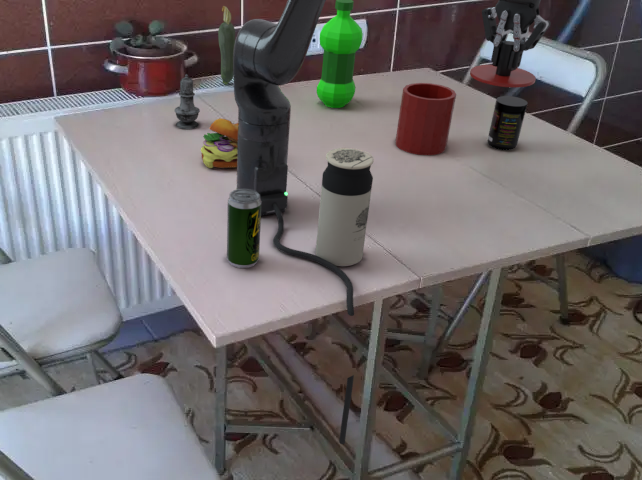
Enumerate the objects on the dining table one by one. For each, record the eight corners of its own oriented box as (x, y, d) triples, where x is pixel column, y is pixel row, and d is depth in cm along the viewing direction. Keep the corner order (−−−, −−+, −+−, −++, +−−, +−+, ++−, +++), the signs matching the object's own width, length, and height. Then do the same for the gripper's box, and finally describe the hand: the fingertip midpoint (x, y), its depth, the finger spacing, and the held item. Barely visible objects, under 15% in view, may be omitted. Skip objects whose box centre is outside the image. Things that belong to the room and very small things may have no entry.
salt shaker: (198, 130, 172) (198, 78, 165) (173, 129, 172) (171, 77, 165) (201, 120, 176) (200, 70, 170) (176, 119, 176) (174, 69, 170)
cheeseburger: (187, 160, 157) (195, 113, 153) (223, 159, 164) (231, 113, 161) (220, 175, 151) (229, 126, 147) (256, 173, 159) (265, 126, 155)
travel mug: (305, 253, 127) (314, 154, 117) (338, 239, 131) (349, 143, 121) (338, 273, 122) (350, 171, 112) (371, 258, 126) (386, 159, 116)
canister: (455, 147, 169) (466, 92, 162) (425, 159, 162) (435, 103, 155) (415, 132, 175) (424, 79, 168) (385, 143, 169) (393, 89, 162)
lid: (546, 82, 146) (555, 44, 142) (512, 95, 139) (522, 56, 135) (491, 66, 154) (498, 30, 149) (456, 78, 146) (463, 40, 142)
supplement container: (522, 150, 168) (533, 105, 162) (494, 152, 167) (505, 106, 161) (507, 139, 174) (518, 95, 168) (481, 140, 172) (490, 96, 167)
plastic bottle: (305, 103, 189) (313, -1, 175) (334, 95, 195) (344, -6, 181) (334, 114, 183) (345, 8, 169) (363, 105, 189) (375, 2, 175)
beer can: (223, 267, 122) (224, 201, 116) (230, 250, 127) (231, 186, 120) (256, 270, 122) (259, 204, 115) (261, 254, 126) (264, 190, 119)
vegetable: (237, 86, 198) (238, 7, 187) (222, 88, 196) (223, 9, 185) (229, 81, 201) (230, 4, 190) (215, 83, 199) (215, 5, 188)
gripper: (480, -32, 137) (462, 62, 147) (550, -19, 129) (526, 80, 139) (502, -36, 141) (483, 56, 151) (571, -23, 133) (546, 73, 143)
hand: (504, 67), depth 145 cm, fingers closed on lid, 3 cm apart
